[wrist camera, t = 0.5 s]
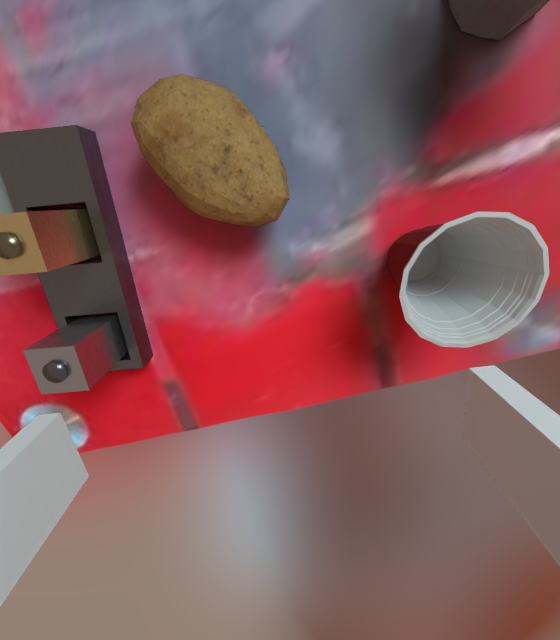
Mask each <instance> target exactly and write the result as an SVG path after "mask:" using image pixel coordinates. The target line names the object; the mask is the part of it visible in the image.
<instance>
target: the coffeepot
mask: <svg viewBox="0 0 560 640" xmlns="http://www.w3.org/2000/svg"><path fill="white" fill-rule="evenodd" d="M548 1H549V0H448V2H449V6H450V10H451V12H452V14H453V16H454V18H455V20H456V22H457V23H458V24H459V27H460V29H461V31H463V32H466V33H469V34H471V35H474V36H476V37H481V38H492V39H496V40H500V39H502V38H503V37H504V36H506V35H507V34H508V33H510V32H511V31H512V30H514V29H515V28H517V27H518V26H519V25H521V24H522V23H523V22H525V21H526V20H527V19H529V18H530V17H532V16H533V15H534V14H536V13H537V12H538V11H540V10H541V9H542V7H543V6H544V5H545V4H546V3H547V2H548Z"/></svg>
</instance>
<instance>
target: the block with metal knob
mask: <svg viewBox="0 0 560 640" xmlns="http://www.w3.org/2000/svg"><path fill="white" fill-rule="evenodd" d="M99 255H100V251H99V248H98V244H97V241H96V237H95V234H94V231H93V227H92V224H91V220H90V217H89V213H88V210H87V209H73V210H51V211H30V212H18V213H7V214H0V276H6V275H17V274H28V273H38V272H48V271H51V270H55V269H58V268H61V267H64V266H67V265H71V264H74V263H77V262H80V261H83V260H87V259H90V258H93V257H96V256H99Z"/></svg>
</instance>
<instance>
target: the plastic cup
mask: <svg viewBox="0 0 560 640" xmlns="http://www.w3.org/2000/svg"><path fill="white" fill-rule="evenodd" d="M388 266H389V270H390V274H391V275H392V277H393V278H394V281H395V283H396V285H397V287H398V289H399V291H400V292H399V298H400V302H401V306H402V310H403V314H404V318H405V321H406V322H407V323H408V324H409V325H410V326H411V327H412V328H413V330H414V331H415V332H416V333H417V334H418V335H419V336H420V337H421V338H423V339H426V340H428V341H430V342H433V343H435V344H437V345H439V346H442V347H472V346H475V345H478V344H482V343H485V342H489V341H492V340H495V339H497V338H498V337H500V336H502V335H503V334H505V333H506V332H508V331H509V330H511V329H512V328H514V327H515V326H517V325H519V324H520V323H521V322H522V321H523V319H524V318H525V317H526V316H527V315H528V313H529V312H530V311H531V310H532V309H533V308H534V306H535V305H536V304H537V303H538V302H539V300H540V297H541V295H542V292H543V289H544V287H545V284H546V281H547V279H548V276H549V260H548V247H547V245H546V244H545V242H544V240H543V239H542V237H541V236H540V234H539V233H538V231H537V230H536V228H535V226H534V225H532V224H531V223H529V222H527V221H525V220H523V219H521V218H519V217H517V216H515V215H513V214H511V213H509V212H475V213H472V214H469V215H467V216H464V217H461V218H458V219H456V220H453V221H450V222H448V223H445V224H441V225H435V226H429V227H425V228H422V229H418V230H414V231H411V232H409V233H406V234H404V235H402V236H401V237H400V238H399V239H398V240H397V241H396V242H394V244H393V246H392V248H391V250H390V251H389V256H388Z"/></svg>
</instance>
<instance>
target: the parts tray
mask: <svg viewBox="0 0 560 640" xmlns="http://www.w3.org/2000/svg"><path fill="white" fill-rule="evenodd" d="M7 213H15V210H14V208H13V205H12V202H11V199H10V197H9V194H8V191H7V189H6V186H5V183H4V180H3V178H2V175H1V172H0V214H7Z"/></svg>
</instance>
